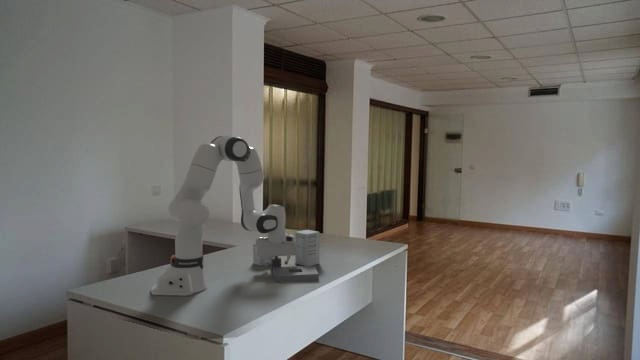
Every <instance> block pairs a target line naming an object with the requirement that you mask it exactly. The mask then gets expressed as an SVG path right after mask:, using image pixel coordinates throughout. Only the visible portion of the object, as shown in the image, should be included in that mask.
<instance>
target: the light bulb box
mask: <svg viewBox="0 0 640 360" xmlns="http://www.w3.org/2000/svg"><path fill="white" fill-rule="evenodd" d="M256 248H257V247H256V245H255V243H252V260H253V261H252V262H253V264H254V265H256V266H260V267H261V266H267V265H266V262H265V260H264V259H263V257H257V255H256ZM272 257H275V256H268V257H266V260H267V261H269V264H272Z"/></svg>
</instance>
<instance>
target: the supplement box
mask: <svg viewBox="0 0 640 360" xmlns="http://www.w3.org/2000/svg"><path fill="white" fill-rule="evenodd" d="M294 233H295V234H294V237H295V240H294V241H295V242H296V245H297V254H296V255H294V256H295V259H294V260H295V261H294V263H295V264H297V265H299V266H315V265H318V264H320V260H321V259H320V235H321V234H320V231H316V230H311V229H303V230H298V231H295V232H294Z"/></svg>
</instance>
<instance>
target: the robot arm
mask: <svg viewBox="0 0 640 360" xmlns="http://www.w3.org/2000/svg"><path fill="white" fill-rule="evenodd" d="M223 160H224V161H226V162H234V163H235V164H236V167H237V171H238V172H237V173H238V176H239V177H238V178H239V199H240V207H241V215H240V225H241V226H242V228H243V229H244V231H248V232H254V233H258V234H267V237H265V236H264V237H258V238H256V239H255V240H254V241H255V245H256V247H257V248H256V255H257V257H263V259H264V260H265V262H266V265H265V266H269V261H267V260H266V257H268V256H278V257H287V258H286V260H285V259H284V265H288V264H289V260H290V259H291V256H292V257H293V256H295V255H296V254H297V245H296V242H295V235H293V234H292V233H288V232H286V218H287V217H286V210H285V207H284V206H283V205H280V204H269V205H268V207H266V208H265V209H264V210H263V211H261V212H259V211H258V210H256V208H255V202H254V201H255V200H254V191H255V190H256V189H258V188H260V187H261V185H262V184H263V183H264V171H263V167H262V162H261V159H260V156H259V153H258V151H257V150H256V148H255V147H252V146H249V144H248V143H247V141H246V140H245V139H243V138H242V137H239V136H232V135H221V136H217V137H215V138H213V140H212V141H211V142H205V143H202V144H200V145H199V146H198V148H197V150H196V152H195V153H194V155H193V158H192V160H191V162H190V165H189V168H188V170H187V173H186V176H185V179H184V181H183V183H182V185H181V186H180V188H179V190H178V192H177V194H176V195H175V197H174V198H173V199H172V200H171V201H170V203H169V205H168V212H169V215H170V216H171V217H172V218H173V219H174V221H176V222H178V225H179V227H178V231H177V235H176V236H175V239H174V246H175V248H174V249H175V254H172V255H171V256H170V266H168V267H167V268H166V269H165V270H163V271H162V272H161V273H159V275H158V277H157V281H156V284H154V285H153V286H152V287H151V289H150V294H151V295H152V296H185V297H186V296H191V295H193V294H197V293H199V292H200V293H201V292H202V291H203V290H206V289H207V287H208V286H207V283H206V279H205V274H204V267H205V265H204V264H205V260H204V259H205V258H204V254H203V236H204V235H203V234H204V231H205V226H206V223H207V222H208V220H209V217H210V209H208V206H206V204H205V203H203V202H202V200H203V198H204V197H205V195H206V194H207V193H208V192H210V190H211V187H212V184H213V182H214V179H215V176H216V173H217V170H218V166H219V164H220V163H221V161H223Z"/></svg>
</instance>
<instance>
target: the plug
mask: <svg viewBox="0 0 640 360" xmlns="http://www.w3.org/2000/svg"><path fill="white" fill-rule="evenodd" d="M281 257H282V256H275V257H272V263H271V272H272V273H273V267H282V258H281Z"/></svg>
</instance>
